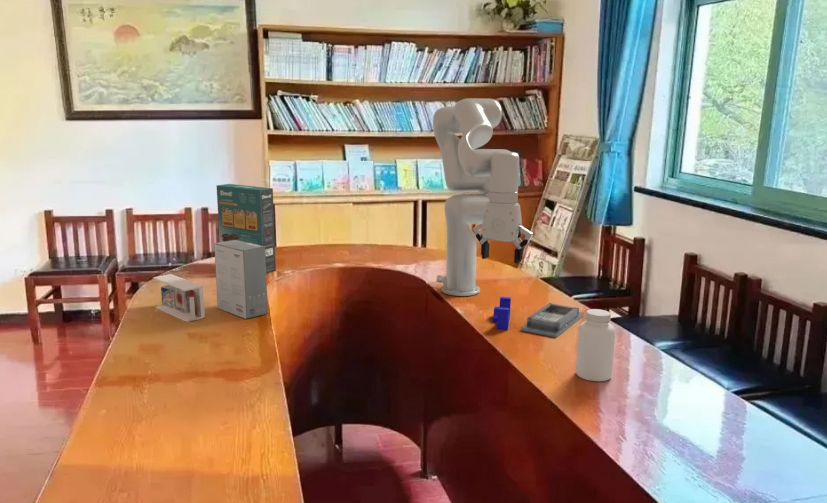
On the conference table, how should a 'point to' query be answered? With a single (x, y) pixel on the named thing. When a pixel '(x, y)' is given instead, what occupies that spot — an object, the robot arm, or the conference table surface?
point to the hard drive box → (241, 278)
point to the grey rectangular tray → (552, 320)
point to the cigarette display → (181, 298)
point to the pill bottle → (595, 346)
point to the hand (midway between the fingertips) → (501, 260)
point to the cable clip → (502, 313)
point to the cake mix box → (247, 217)
